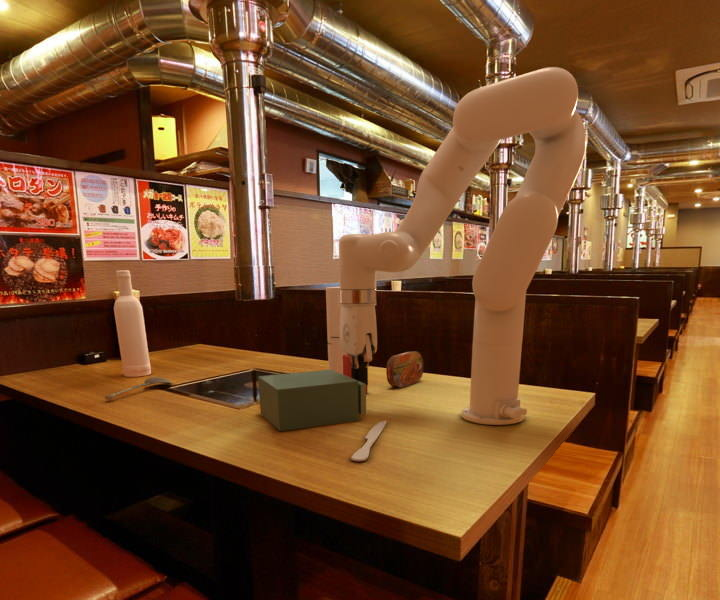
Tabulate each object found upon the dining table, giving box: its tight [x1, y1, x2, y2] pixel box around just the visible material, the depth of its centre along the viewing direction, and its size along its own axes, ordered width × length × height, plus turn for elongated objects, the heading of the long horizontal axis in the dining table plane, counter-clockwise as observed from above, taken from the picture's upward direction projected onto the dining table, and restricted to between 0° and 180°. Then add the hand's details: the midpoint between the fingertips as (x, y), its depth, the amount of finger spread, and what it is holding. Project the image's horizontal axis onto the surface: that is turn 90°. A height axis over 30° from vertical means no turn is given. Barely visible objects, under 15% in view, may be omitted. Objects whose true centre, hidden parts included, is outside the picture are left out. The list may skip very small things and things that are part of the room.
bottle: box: [113, 269, 152, 378], centre depth 163 cm, size 8×8×30 cm
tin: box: [385, 350, 425, 388], centre depth 147 cm, size 15×3×8 cm, turn 143°
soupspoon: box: [104, 376, 173, 402], centre depth 144 cm, size 22×3×7 cm
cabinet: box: [257, 369, 360, 432], centre depth 116 cm, size 17×15×8 cm
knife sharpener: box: [343, 354, 368, 395], centre depth 137 cm, size 4×5×10 cm
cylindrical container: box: [325, 286, 347, 374], centre depth 147 cm, size 7×7×25 cm
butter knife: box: [350, 420, 388, 463], centre depth 101 cm, size 1×24×3 cm
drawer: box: [345, 375, 367, 416], centre depth 118 cm, size 17×14×6 cm
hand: (359, 385), depth 120 cm, fingers closed
